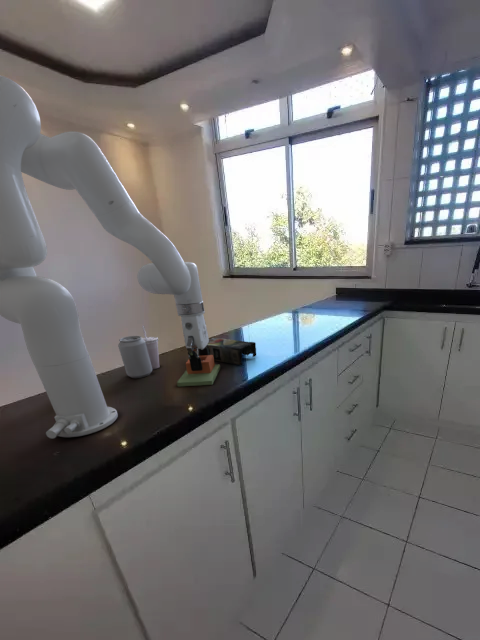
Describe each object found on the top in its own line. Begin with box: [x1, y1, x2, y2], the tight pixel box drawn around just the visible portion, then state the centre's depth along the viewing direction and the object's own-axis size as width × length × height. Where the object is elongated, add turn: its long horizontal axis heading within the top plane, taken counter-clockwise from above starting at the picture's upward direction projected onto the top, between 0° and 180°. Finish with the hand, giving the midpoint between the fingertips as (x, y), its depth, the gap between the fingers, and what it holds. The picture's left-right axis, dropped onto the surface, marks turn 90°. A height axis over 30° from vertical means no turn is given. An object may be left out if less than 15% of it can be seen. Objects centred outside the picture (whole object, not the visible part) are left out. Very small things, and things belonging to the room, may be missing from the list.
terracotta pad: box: [185, 355, 216, 374], centre depth 97 cm, size 7×7×4 cm
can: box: [117, 335, 153, 379], centre depth 96 cm, size 8×8×12 cm
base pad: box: [176, 359, 221, 387], centre depth 95 cm, size 14×10×4 cm
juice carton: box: [207, 337, 257, 366], centre depth 110 cm, size 20×10×6 cm, turn 62°
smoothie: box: [141, 325, 160, 370], centre depth 102 cm, size 6×6×14 cm
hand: (200, 365), depth 97 cm, fingers open, 9 cm apart
